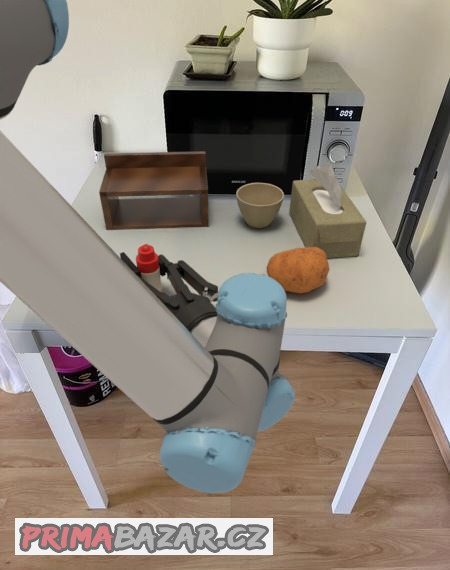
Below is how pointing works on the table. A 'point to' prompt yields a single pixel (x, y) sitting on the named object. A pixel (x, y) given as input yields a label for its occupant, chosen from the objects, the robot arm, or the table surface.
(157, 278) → the red cream bottle
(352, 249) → the tissue box
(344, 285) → the table surface
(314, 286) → the potato
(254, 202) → the beige bowl
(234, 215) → the table surface
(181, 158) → the shelf
